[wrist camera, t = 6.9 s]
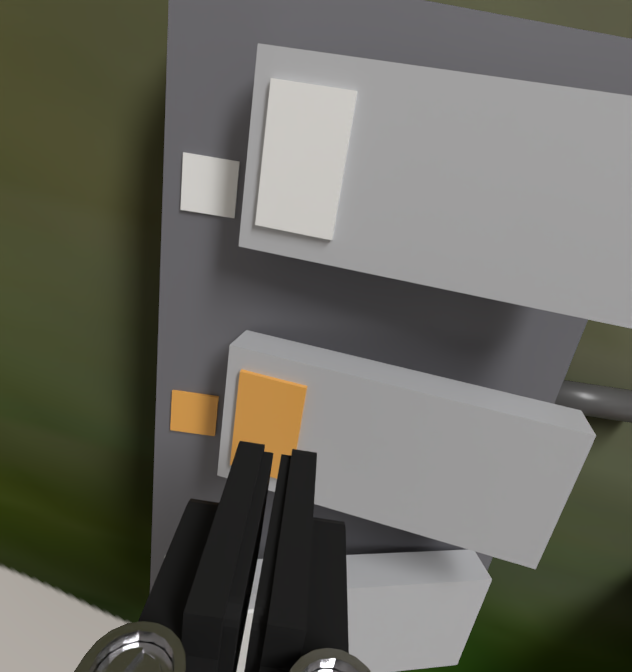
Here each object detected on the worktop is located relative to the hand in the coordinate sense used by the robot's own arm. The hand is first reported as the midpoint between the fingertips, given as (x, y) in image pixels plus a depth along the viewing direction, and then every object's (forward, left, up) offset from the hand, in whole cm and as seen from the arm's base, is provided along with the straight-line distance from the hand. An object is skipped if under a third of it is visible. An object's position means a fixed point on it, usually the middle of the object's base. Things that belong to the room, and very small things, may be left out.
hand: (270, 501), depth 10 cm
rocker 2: (-3, 0, -3) cm, 4 cm away
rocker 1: (-3, -7, -3) cm, 8 cm away
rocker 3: (-3, +7, -3) cm, 8 cm away
